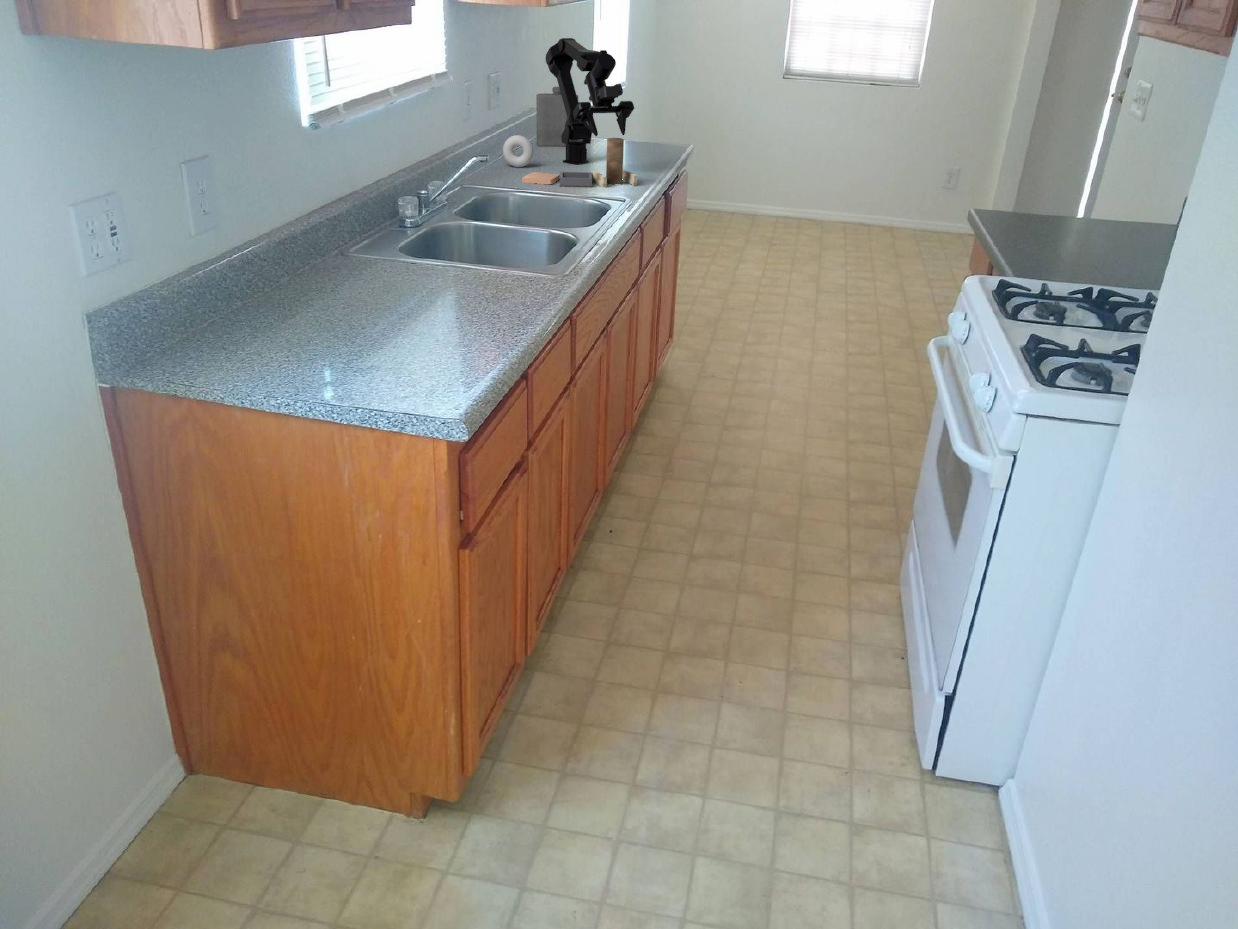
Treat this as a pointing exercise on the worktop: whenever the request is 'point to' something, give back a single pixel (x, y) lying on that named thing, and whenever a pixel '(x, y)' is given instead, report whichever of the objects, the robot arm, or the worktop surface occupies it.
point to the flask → (550, 119)
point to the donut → (524, 144)
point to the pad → (540, 178)
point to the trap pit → (576, 179)
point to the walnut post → (614, 160)
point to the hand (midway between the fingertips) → (610, 134)
